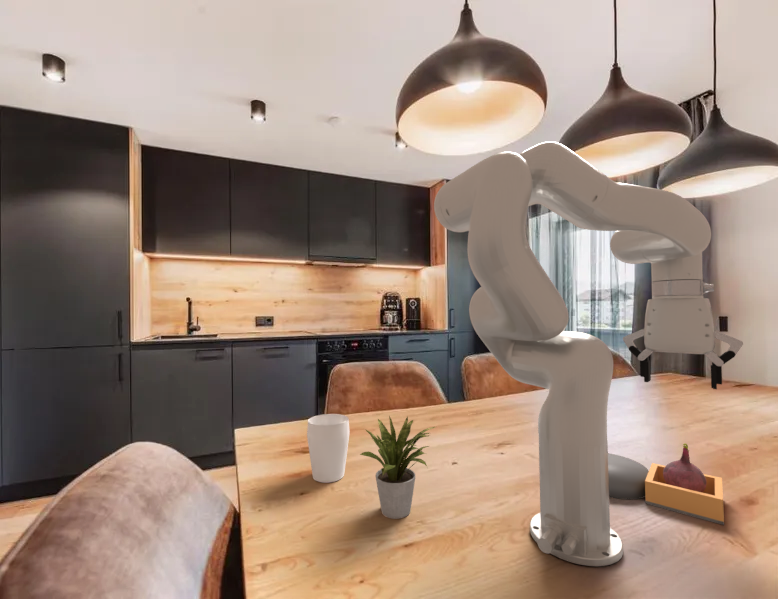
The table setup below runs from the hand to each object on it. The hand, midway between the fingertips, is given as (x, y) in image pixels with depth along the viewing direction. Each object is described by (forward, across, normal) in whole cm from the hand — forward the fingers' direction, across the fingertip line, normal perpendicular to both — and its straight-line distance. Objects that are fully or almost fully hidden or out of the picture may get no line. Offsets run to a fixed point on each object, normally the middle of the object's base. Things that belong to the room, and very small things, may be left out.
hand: (679, 384), depth 68 cm
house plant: (+22, +37, +36) cm, 56 cm away
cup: (+22, +58, +34) cm, 71 cm away
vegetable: (+21, 0, 0) cm, 21 cm away
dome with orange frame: (+21, +7, 0) cm, 22 cm away
